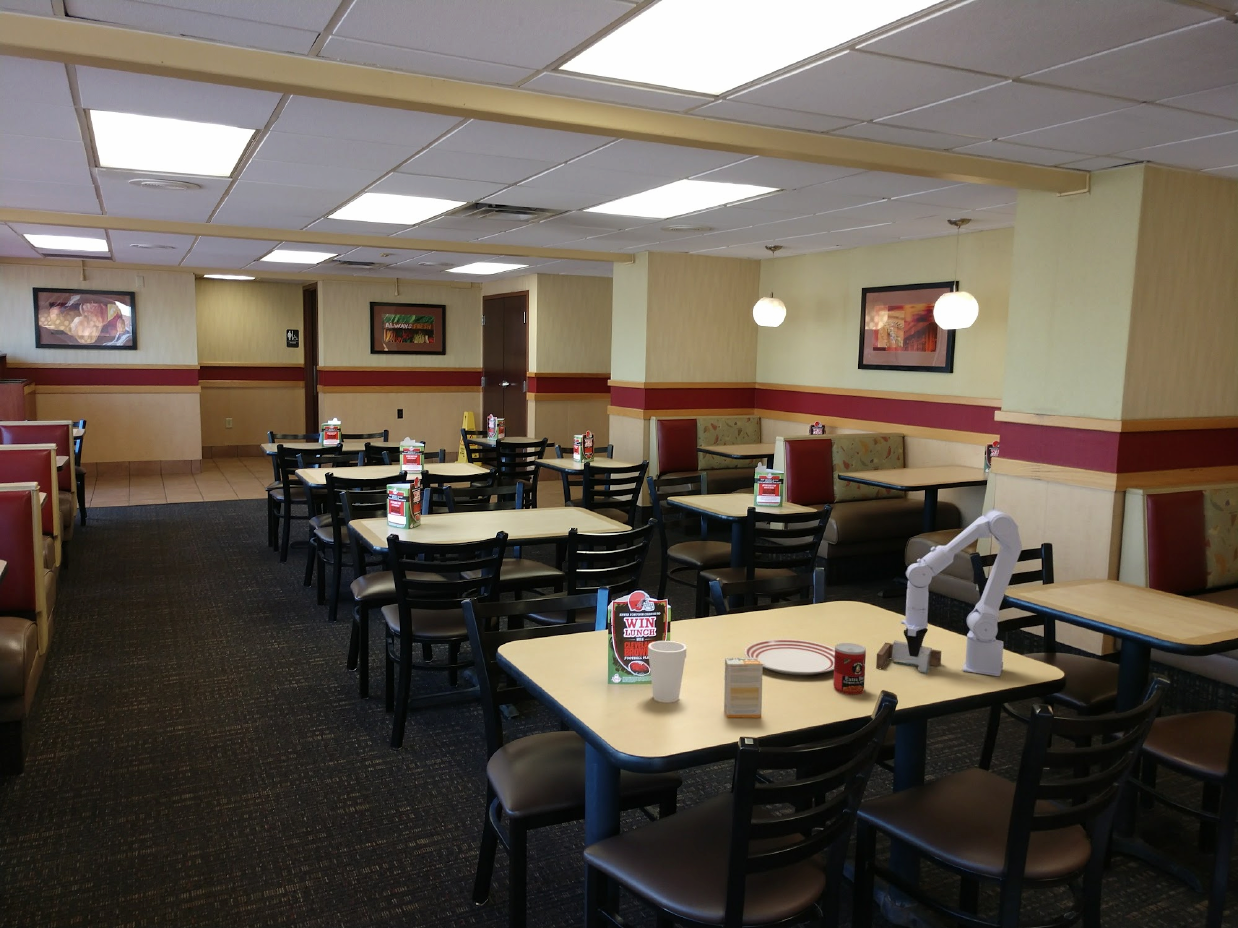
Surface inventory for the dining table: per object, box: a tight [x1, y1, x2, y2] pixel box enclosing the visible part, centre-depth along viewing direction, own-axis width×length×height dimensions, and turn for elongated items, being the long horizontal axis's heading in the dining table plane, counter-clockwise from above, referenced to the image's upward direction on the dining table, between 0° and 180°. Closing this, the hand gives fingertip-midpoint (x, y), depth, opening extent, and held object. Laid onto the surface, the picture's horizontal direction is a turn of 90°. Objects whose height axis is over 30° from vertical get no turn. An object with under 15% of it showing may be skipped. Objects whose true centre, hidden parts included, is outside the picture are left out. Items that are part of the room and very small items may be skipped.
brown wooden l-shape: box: [875, 642, 942, 670], centre depth 247 cm, size 15×12×4 cm
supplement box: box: [723, 657, 764, 719], centre depth 209 cm, size 8×5×13 cm, turn 92°
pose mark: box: [894, 660, 931, 675], centre depth 246 cm, size 9×7×1 cm
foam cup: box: [647, 640, 688, 704], centre depth 219 cm, size 10×9×13 cm
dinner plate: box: [744, 638, 835, 676], centre depth 247 cm, size 28×27×3 cm
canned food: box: [833, 642, 867, 695], centre depth 227 cm, size 8×8×11 cm
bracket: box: [891, 640, 933, 673], centre depth 246 cm, size 10×7×5 cm
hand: (914, 654), depth 248 cm, fingers closed on bracket
